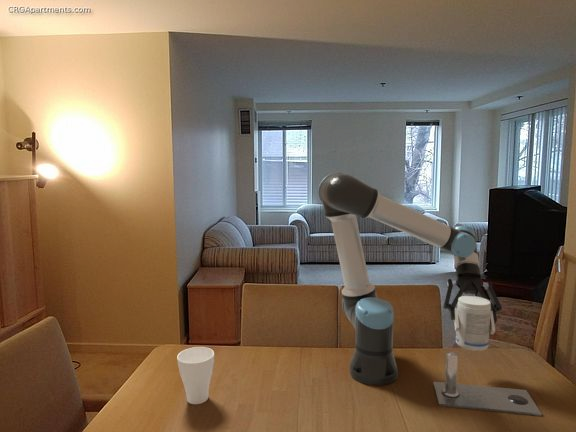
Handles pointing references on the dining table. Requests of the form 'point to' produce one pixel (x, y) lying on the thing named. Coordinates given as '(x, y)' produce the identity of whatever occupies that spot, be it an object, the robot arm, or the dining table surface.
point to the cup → (196, 372)
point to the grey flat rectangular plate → (488, 399)
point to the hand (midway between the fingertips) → (474, 331)
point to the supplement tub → (473, 322)
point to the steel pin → (451, 375)
